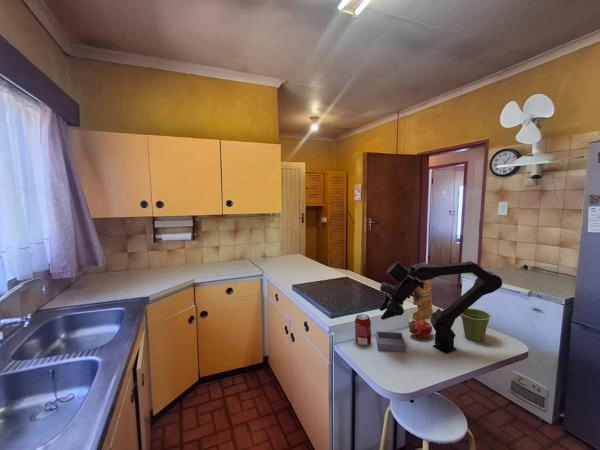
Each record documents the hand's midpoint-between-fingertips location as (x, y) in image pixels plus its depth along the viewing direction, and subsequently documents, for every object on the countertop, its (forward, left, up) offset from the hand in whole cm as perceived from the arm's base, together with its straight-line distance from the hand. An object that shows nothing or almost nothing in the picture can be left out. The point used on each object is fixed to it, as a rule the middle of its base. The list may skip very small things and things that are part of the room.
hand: (380, 314), depth 119 cm
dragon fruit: (-3, -20, -13) cm, 24 cm away
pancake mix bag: (+13, -38, -13) cm, 42 cm away
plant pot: (-15, -39, -13) cm, 44 cm away
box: (-3, -3, -13) cm, 14 cm away
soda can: (+4, +7, -13) cm, 15 cm away
